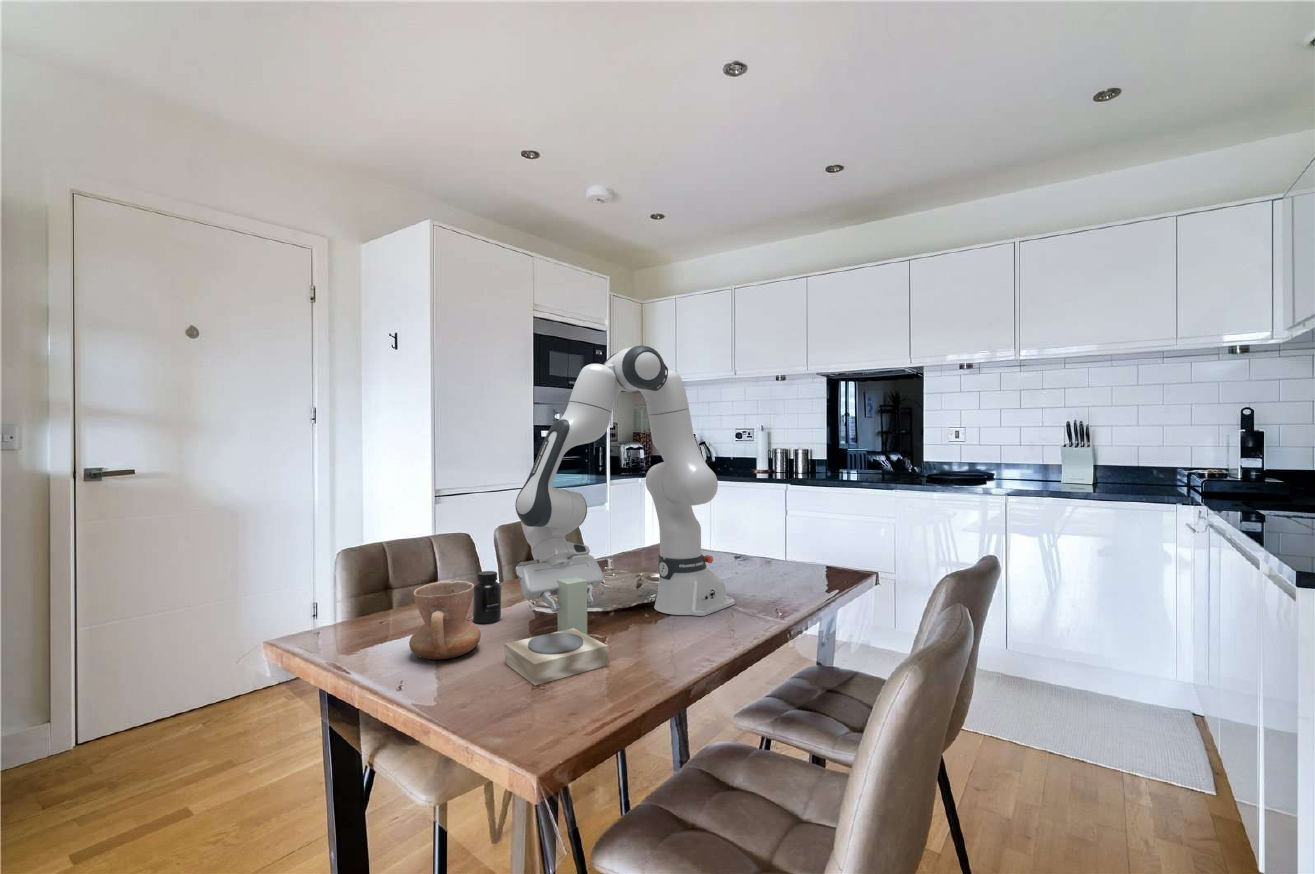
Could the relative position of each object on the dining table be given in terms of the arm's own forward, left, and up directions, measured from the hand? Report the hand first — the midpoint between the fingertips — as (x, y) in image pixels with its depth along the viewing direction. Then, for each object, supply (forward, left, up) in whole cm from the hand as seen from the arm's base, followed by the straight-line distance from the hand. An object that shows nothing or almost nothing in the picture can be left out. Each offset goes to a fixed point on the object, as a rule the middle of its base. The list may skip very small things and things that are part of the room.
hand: (573, 606), depth 140 cm
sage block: (0, -1, -7) cm, 7 cm away
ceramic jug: (+27, -8, -7) cm, 29 cm away
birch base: (+11, +12, -7) cm, 18 cm away
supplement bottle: (+11, -25, -7) cm, 28 cm away
